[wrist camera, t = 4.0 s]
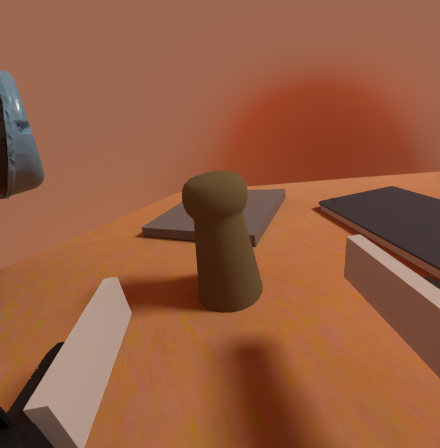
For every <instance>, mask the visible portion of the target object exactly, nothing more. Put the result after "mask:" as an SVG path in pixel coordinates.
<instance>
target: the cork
mask: <svg viewBox="0 0 440 448" xmlns="http://www.w3.org/2000/svg"><path fill="white" fill-rule="evenodd" d="M247 197H248V193H247V186H246V184H245V181H244V180H243V179H242V177H241V176H240V175H239V174H237V173H235V172H230V171H215V172H208V173H204V174H201V175H198V176H196V177H193V178H191V179H190V180H189V181H187V182H186V183H185V185H184V187H183V190H182V202H183V206H184V209H185V211H186V213H187V214H188V215H189V216H190V217H191V218H192V219H193V220H194V230H195V243H196V257H197V270H198V283H199V296H200V300H201V301H202V303H203V304H204V305H205V306H206V307H208V308H209V309H211V310H214V311H218V312H235V311H239V310H243V309H245V308H247V307H249V306H251V305H253V304H254V303H255V302H256V301H257V300H258V299H259V297H260V295H261V293H262V282H261V278H260V274H259V270H258V267H257V263H256V259H255V256H254V252H253V248H252V244H251V241H250V237H249V233H248V229H247V226H246V222H245V218H244V214H243V210H244V208H245V207H246V203H247Z"/></svg>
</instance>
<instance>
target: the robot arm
mask: <svg viewBox="0 0 440 448" xmlns="http://www.w3.org/2000/svg"><path fill="white" fill-rule="evenodd" d="M43 180H44V170H43V166H42V162H41V159H40V156H39V153H38V149H37V146H36V143H35V140H34V137H33V134H32V131H31V129H30V125H29V122H28V119H27V116H26V112H25V109H24V106H23V103H22V100H21V97H20V94H19V91H18V89H17V86H16V83H15V81H14V78H13V76H12V75H11V74H10V73H9V72H7V71H4V70H0V199H6V198H9V197H11V195H15V194H18V193H22V192H25V191H28V190H31V189H35V188H37V187H38V186H40V185H41V184H42V182H43ZM344 277H345V278H346V279H347V280H348V281H349V282H350V283H351V284H352V285H353V286H354V287H355V288H356V290H357V291H358V292H359V293H360V294H361V295H362V296H363V297H364V298H365V299H366V300H367V301H368V302H369V303H370V304H371V305H372V307H373V308H374V309H375V310H376V311H377V312H378V313H379V314H380V315H381V316H382V317H383V318H384V319H385V320H386V321H387V323H388V324H389V325H390V326H391V327H392V328H393V329H394V330H395V331H396V332H397V333H398V334H399V335H400V336H401V337H402V338H403V340H404V341H405V342H406V343H407V344H408V345H409V346H410V347H411V348H412V349H413V350H414V351H415V352H416V353H417V354H418V356H419V357H420V358H421V359H422V360H423V361H424V362H425V363H426V364H427V365H428V366H429V367H430V368H431V369H432V370H433V371H434V373H435V374H436V375H437V376H438V377H439V378H440V281H438V280H435V279H433V278H431V277H423V278H422V277H421V276H419V275H418V274H417V273H415V272H414V271H412V270H411V269H409V268H408V267H406V266H405V265H404V264H402V263H401V262H399V261H398V260H396V259H395V258H394V257H392V256H391V255H389V254H388V253H386V252H385V251H383V250H382V249H381V248H379V247H378V246H376V245H375V244H373V243H372V242H371V241H369V240H368V239H366V238H365V237H363V236H362V235H360V234H358V235H353V236H347V241H346V256H345V270H344ZM131 315H132V313H131V310H130V308H129V305H128V303H127V300H126V298H125V295H124V293H123V290H122V288H121V285H120V283H119V280H118V278H117V277H112V278H106V279H103V281H102V282H101V284H100V286H99V287H98V289H97V290H96V292H95V294H94V295H93V297H92V299H91V300H90V302H89V303H88V305H87V307H86V308H85V310H84V312H83V313H82V315H81V316H80V318H79V320H78V321H77V323H76V325H75V326H74V328H73V330H72V331H71V333H70V334H69V336H68V338H67V339H66V341H65V342H60V343H57V344H56V345H55V346H54V347H53V348H52V349H51V350H50V351H49V352H48V353H47V354H46V355H45V357H44V358H43V360H42V361H41V363H40V364H39V366H38V369H36V370H35V372H34V373H33V375H32V376H31V379H29V381H28V382H27V384H26V385H25V387H24V388H23V390H22V391H21V393H20V394H19V396H18V397H17V399H16V400H15V402H14V403H13V405H12V406H11V408H10V410H9V411H8V413H7V414H6V412H5V411H4V410H3V409H2V408H1V407H0V448H84V447H85V444H86V442H87V439H88V436H89V433H90V430H91V428H92V425H93V422H94V419H95V416H96V413H97V411H98V408H99V405H100V402H101V399H102V397H103V394H104V391H105V388H106V385H107V382H108V380H109V377H110V374H111V371H112V368H113V366H114V363H115V360H116V357H117V354H118V351H119V349H120V346H121V343H122V340H123V337H124V335H125V332H126V329H127V326H128V323H129V320H130V318H131Z"/></svg>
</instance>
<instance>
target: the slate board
mask: <svg viewBox="0 0 440 448" xmlns="http://www.w3.org/2000/svg"><path fill="white" fill-rule="evenodd" d="M247 193H248V197H247V203H246V207H245V208H244V210H243V214H244V218H245V222H246V226H247V229H248V233H249V237H250V241H251V244H252V246H256V245H257V244H258V242H259V240H260V239H261V237H262V235H263V234H264V232H265V230H266V229H267V227H268V225H269V224H270V222H271V220H272V219H273V217H274V215H275V214H276V212H277V210H278V209H279V207H280V205H281V204H282V202H283V200H284V199H285V189H272V190H247ZM142 230H143V233H144V236H147V237H158V238H169V239H180V240H191V241H195V230H194V220H193V219H192V218H191V217H190V216H189V215H188V214H187V213H186V211H185V209H184V206H183V202H181V203H180V204H178V205H176V206H175V207H173V208H172V209H170V210H169V211H167V212H165V213H164V214H162V215H161V216H159V217H158V218H156V219H154V220H153V221H151V222H150V223H148V224H147V225H145V226H143V227H142Z"/></svg>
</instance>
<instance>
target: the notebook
mask: <svg viewBox="0 0 440 448" xmlns="http://www.w3.org/2000/svg"><path fill="white" fill-rule="evenodd" d="M319 204H320V209H321V210H322V211H324V212H325V213H327V214H329V215H330V216H332V217H334V218H336V219H337V220H339V221H341V222H342V223H344V224H346V225H348V226H349V227H351V228H353V229H355V230H356V231H358V232H360V233H361V234H363V235H365V236H367V237H368V238H370V239H372V240H373V241H375V242H377V243H379V244H380V245H382V246H384V247H385V248H387V249H389V250H391V251H392V252H394V253H396V254H397V255H399V256H401V257H403V258H404V259H406V260H408V261H410V262H411V263H413V264H415V265H416V266H418V267H420V268H422V269H423V270H425V271H427V272H428V273H430V274H432V275H434V276H435V277H437V278H439V279H440V199H436V198H433V197H429V196H426V195H422V194H418V193H415V192H411V191H408V190H404V189H401V188H397V187H393V186H390V187H385V188H381V189H376V190H371V191H366V192H361V193H357V194H352V195H347V196H342V197H337V198H332V199H328V200H323V201H320V202H319Z"/></svg>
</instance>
